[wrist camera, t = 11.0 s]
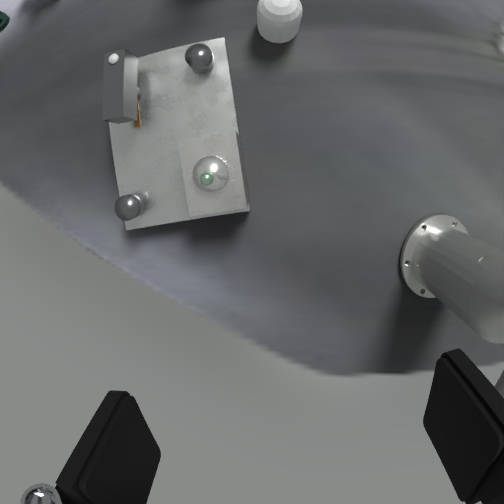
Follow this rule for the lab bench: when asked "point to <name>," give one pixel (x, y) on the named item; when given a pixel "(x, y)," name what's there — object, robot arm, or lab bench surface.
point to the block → (120, 87)
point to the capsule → (278, 19)
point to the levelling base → (168, 126)
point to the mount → (3, 20)
